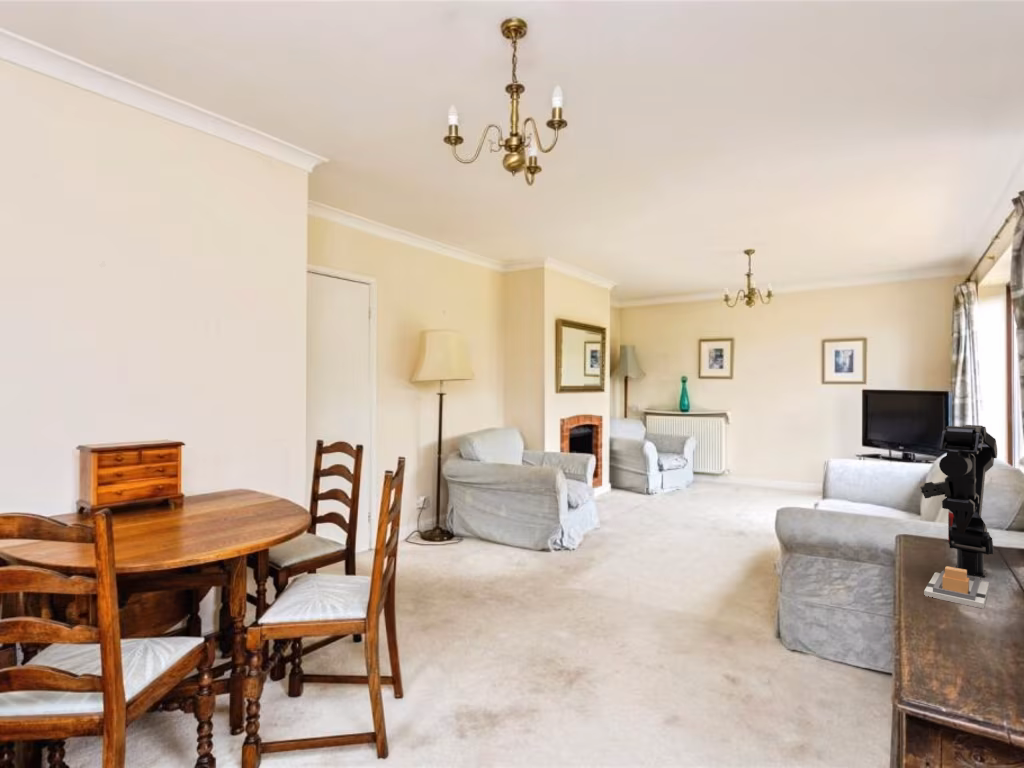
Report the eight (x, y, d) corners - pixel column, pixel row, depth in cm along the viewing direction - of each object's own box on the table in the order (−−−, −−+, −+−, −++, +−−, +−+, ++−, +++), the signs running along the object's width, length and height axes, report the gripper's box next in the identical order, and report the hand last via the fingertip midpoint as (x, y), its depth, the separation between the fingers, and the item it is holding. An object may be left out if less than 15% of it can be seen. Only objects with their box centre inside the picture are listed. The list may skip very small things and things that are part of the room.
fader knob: (944, 585, 136) (944, 564, 136) (969, 590, 133) (969, 569, 133) (942, 589, 133) (942, 568, 134) (967, 594, 130) (967, 573, 130)
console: (935, 576, 147) (935, 568, 147) (988, 587, 139) (988, 578, 139) (924, 595, 133) (924, 586, 133) (983, 608, 125) (983, 599, 125)
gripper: (928, 467, 155) (927, 522, 155) (917, 473, 142) (917, 533, 141) (979, 471, 147) (979, 529, 147) (973, 479, 134) (973, 542, 134)
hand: (961, 533), depth 143 cm, fingers closed
